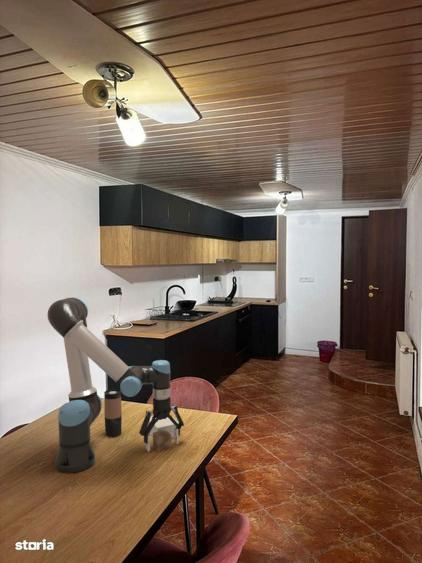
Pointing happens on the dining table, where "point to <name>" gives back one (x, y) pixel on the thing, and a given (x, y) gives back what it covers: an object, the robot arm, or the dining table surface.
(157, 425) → the white block
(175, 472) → the dining table surface
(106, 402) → the travel mug
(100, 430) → the dining table surface
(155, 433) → the walnut cube
